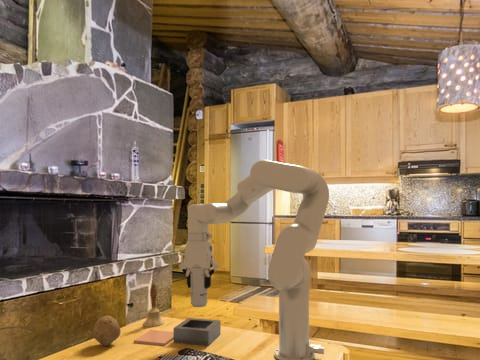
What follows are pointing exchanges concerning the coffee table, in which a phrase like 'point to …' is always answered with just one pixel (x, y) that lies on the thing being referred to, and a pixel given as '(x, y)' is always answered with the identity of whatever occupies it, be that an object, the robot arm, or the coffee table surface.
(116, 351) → the coffee table surface
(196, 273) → the energy drink can
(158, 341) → the terracotta tile
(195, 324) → the frame
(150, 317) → the hand bell
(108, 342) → the natural sponge
